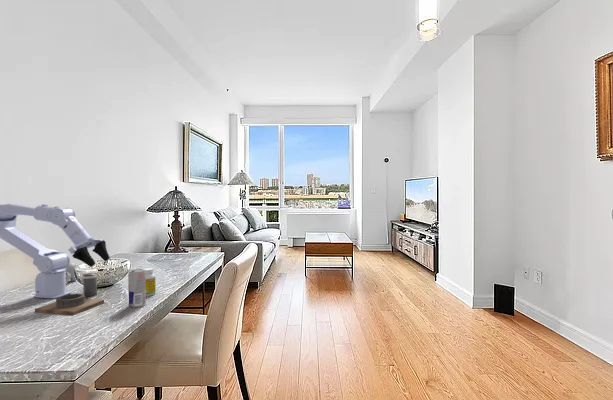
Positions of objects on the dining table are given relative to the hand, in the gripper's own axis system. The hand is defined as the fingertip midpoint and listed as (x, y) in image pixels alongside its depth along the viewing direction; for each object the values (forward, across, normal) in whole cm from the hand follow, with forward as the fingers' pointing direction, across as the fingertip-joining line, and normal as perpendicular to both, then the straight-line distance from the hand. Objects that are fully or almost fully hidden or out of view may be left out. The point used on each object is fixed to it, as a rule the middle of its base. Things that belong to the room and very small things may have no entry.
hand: (100, 262), depth 138 cm
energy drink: (+22, -9, -8) cm, 26 cm away
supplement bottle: (+20, +4, -4) cm, 21 cm away
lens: (+6, 0, +12) cm, 14 cm away
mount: (+8, -14, +8) cm, 19 cm away
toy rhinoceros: (-8, +15, +32) cm, 36 cm away
